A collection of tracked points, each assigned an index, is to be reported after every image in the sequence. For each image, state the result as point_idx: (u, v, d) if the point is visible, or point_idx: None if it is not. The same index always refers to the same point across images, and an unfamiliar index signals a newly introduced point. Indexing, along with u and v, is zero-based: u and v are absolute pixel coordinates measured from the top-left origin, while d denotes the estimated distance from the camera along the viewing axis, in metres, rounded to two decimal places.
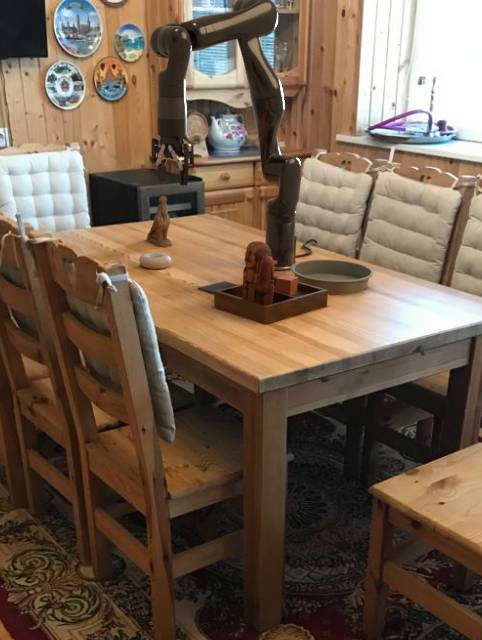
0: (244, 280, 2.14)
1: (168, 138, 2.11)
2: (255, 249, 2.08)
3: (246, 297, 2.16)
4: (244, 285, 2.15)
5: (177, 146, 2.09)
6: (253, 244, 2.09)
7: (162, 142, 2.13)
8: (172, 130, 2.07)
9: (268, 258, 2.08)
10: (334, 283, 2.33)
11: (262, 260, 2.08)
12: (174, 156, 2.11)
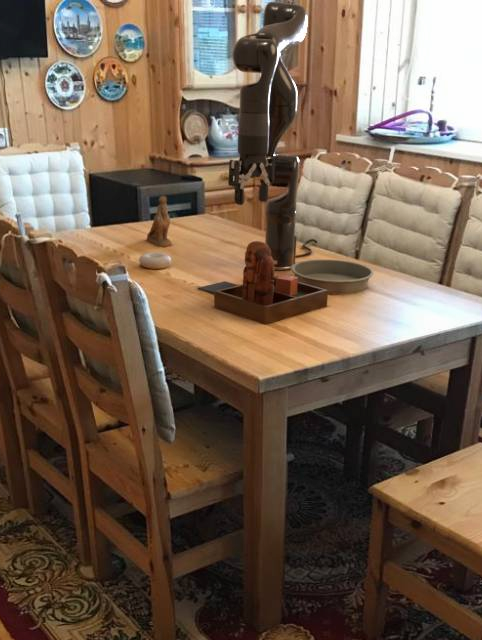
0: (244, 280, 2.14)
1: None
2: (255, 249, 2.08)
3: (246, 297, 2.16)
4: (244, 285, 2.15)
5: None
6: (253, 244, 2.09)
7: None
8: None
9: (268, 258, 2.08)
10: (334, 283, 2.33)
11: (262, 260, 2.08)
12: None
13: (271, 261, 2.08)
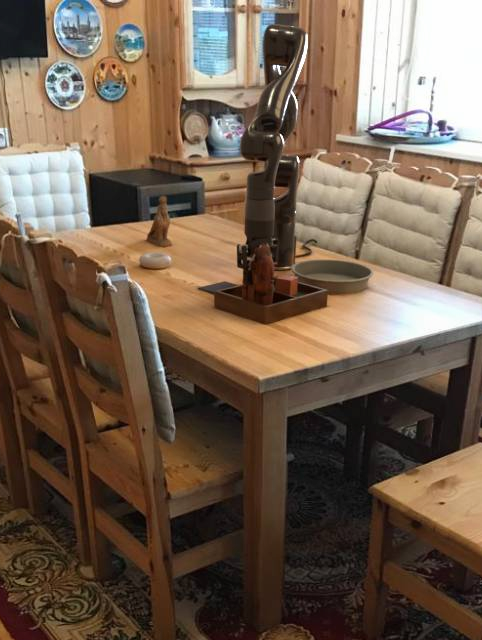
0: None
1: None
2: (255, 249, 2.08)
3: (246, 297, 2.16)
4: (244, 285, 2.15)
5: None
6: None
7: None
8: None
9: (267, 258, 2.08)
10: (334, 283, 2.33)
11: (261, 260, 2.08)
12: None
13: (270, 261, 2.08)
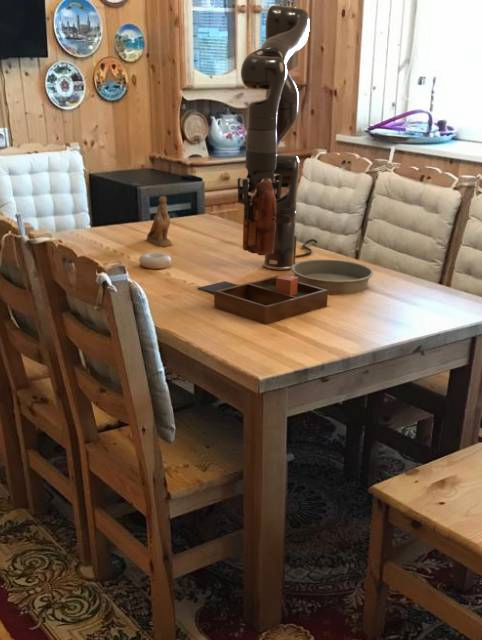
0: None
1: None
2: (256, 184, 2.00)
3: (247, 236, 2.08)
4: (245, 223, 2.07)
5: None
6: None
7: None
8: None
9: (269, 193, 2.00)
10: (334, 283, 2.33)
11: (263, 195, 2.00)
12: None
13: (273, 196, 2.01)
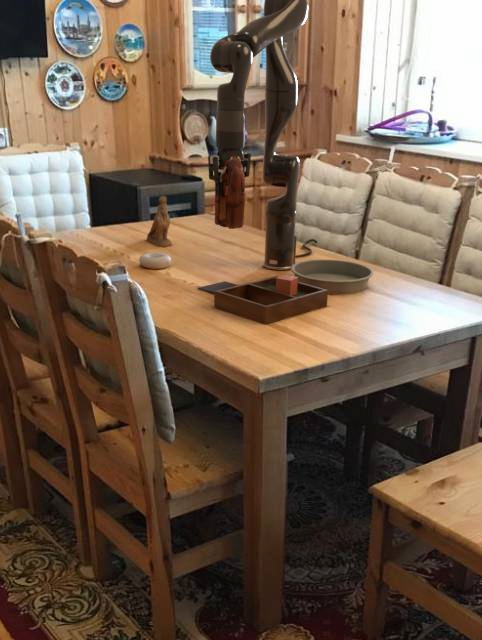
0: None
1: None
2: (226, 161, 2.14)
3: (218, 210, 2.22)
4: (216, 199, 2.21)
5: None
6: None
7: None
8: None
9: (238, 169, 2.14)
10: (334, 283, 2.33)
11: (232, 172, 2.14)
12: None
13: (241, 173, 2.15)
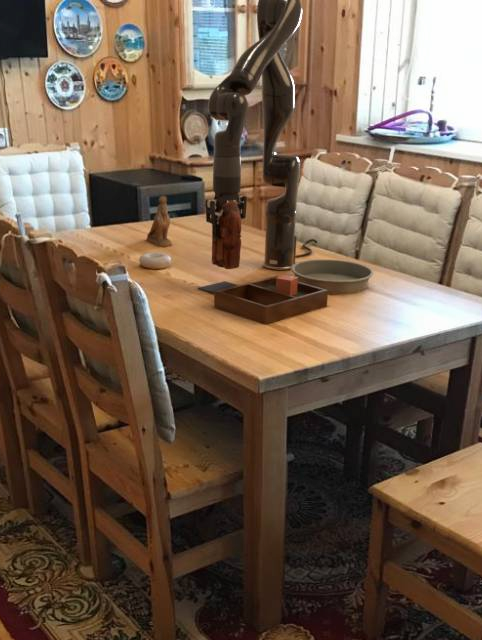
0: None
1: None
2: (223, 204, 2.21)
3: (215, 251, 2.29)
4: (213, 240, 2.28)
5: None
6: None
7: None
8: (213, 184, 2.21)
9: (234, 213, 2.21)
10: (334, 283, 2.33)
11: (229, 215, 2.21)
12: None
13: (237, 216, 2.22)
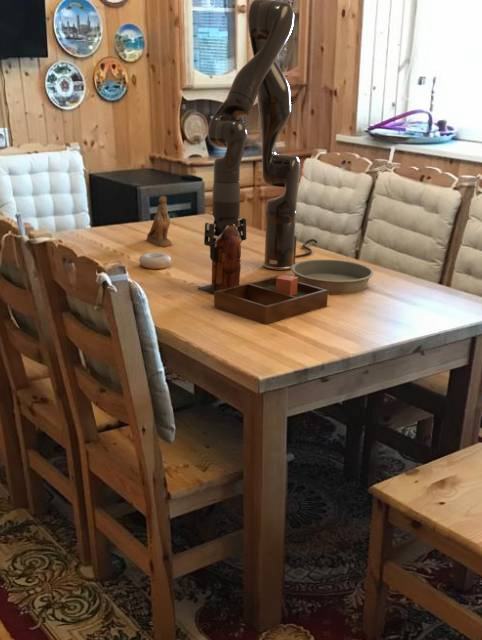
0: None
1: None
2: None
3: (215, 275, 2.32)
4: (213, 264, 2.31)
5: None
6: None
7: None
8: (212, 209, 2.24)
9: (234, 238, 2.24)
10: (334, 283, 2.33)
11: (229, 240, 2.24)
12: None
13: (237, 241, 2.25)
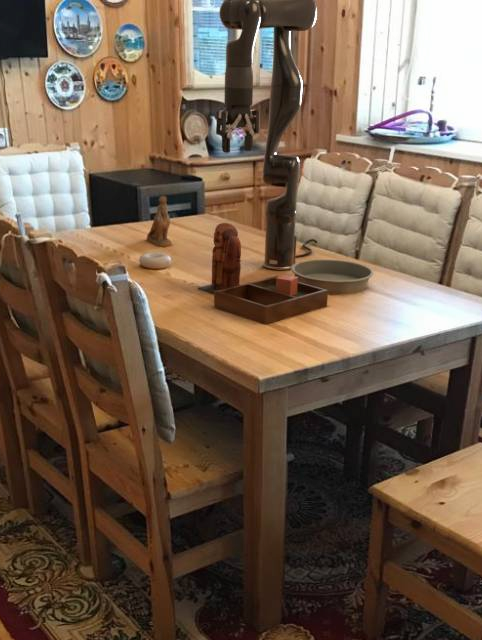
0: (213, 259, 2.31)
1: None
2: (223, 230, 2.25)
3: (215, 275, 2.32)
4: (213, 264, 2.31)
5: None
6: (221, 225, 2.26)
7: None
8: None
9: (234, 238, 2.24)
10: (334, 283, 2.33)
11: (229, 240, 2.24)
12: None
13: (237, 241, 2.25)
